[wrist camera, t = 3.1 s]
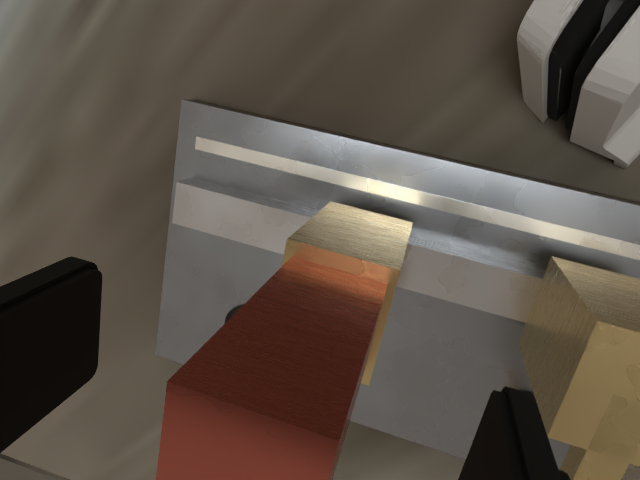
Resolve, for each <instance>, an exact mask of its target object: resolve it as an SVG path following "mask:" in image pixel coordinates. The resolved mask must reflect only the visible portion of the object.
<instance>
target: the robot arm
mask: <svg viewBox="0 0 640 480" xmlns="http://www.w3.org/2000/svg"><path fill="white" fill-rule="evenodd" d="M101 292H102V274H101V272H100V271H98V268H97V265H96V264H95V263H92V262H89V261H85V260H82V259H79V258H75V257H68V258H65V259H63V260H61V261H59V262H56V263H54V264H52V265H49V266H47V267H45V268H42V269H40V270H38V271H36V272H33V273H31V274H29V275H26V276H24V277H22V278H19V279H17V280H15V281H12V282H10V283H8V284H6V285H3V286H1V287H0V480H69V479H67V478H64V477H62V476H59V475H56V474H54V473H51V472H48V471H46V470H43V469H41V468H38V467H35V466H33V465H30V464H27V463H25V462H22V461H19V460H17V459H14V458H11V457H9V456H6V455H3V454H1V452H2V451H3V450H4V449H6V448H7V447H8V446H9V445H11V444H12V443H13V442H14V441H16V440H17V439H18V438H19V437H20V436H22V435H23V434H24V433H25V432H27V431H28V430H29V429H30V428H31V427H33V426H34V425H35V424H36V423H38V422H39V421H40V420H41V419H43V418H44V417H45V416H46V415H47V414H49V413H50V412H51V411H52V410H54V409H55V408H56V407H57V406H59V405H60V404H61V403H62V402H63V401H65V400H66V399H67V398H68V397H70V396H71V395H72V394H73V393H74V392H76V391H77V390H78V389H79V388H81V387H82V386H83V385H84V384H86V383H87V382H88V381H89V380H90V379H91V378H92V377H93V376H94V374H95V372H96V370H97V366H98V351H99V331H100V311H101ZM458 480H571V479H570V477H569V475H568V474H567V473H566V472H564V471H562V470H559V469H558V467H557V464H556V461H555V458H554V455H553V451H552V448H551V445H550V442H549V439H548V436H547V433H546V430H545V427H544V424H543V421H542V418H541V415H540V411H539V408H538V405H537V402H536V399H535V397H534V395H533V394H530V393H527V392H524V391H520V390H517V389H513V388H510V387H507V386H505V387H503V389H502V390H501V392H500V391H496V390H493V391H492V393H491V395H490V397H489V400H488V402H487V405H486V408H485V410H484V413H483V416H482V418H481V421H480V424H479V426H478V429H477V432H476V434H475V437H474V439H473V442H472V445H471V447H470V450H469V453H468V455H467V458H466V461H465V463H464V466H463V469H462V471H461V474H460V477H459V479H458Z"/></svg>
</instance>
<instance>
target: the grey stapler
mask: <svg viewBox="0 0 640 480" xmlns="http://www.w3.org/2000/svg"><path fill="white" fill-rule="evenodd" d="M517 46H518V55H519V64H520V74H521V83H522V92H523V101H524V102H525V104H526V105H527V106H528V107H529V109H530V110H531V111H532V112H533V113H534V114H535V115H536V116H537V117H538V118H539V120H540V121H541V122H542V123H543V122H544V121H545V120H546V119H547V117H548V116H549V117H550V118H552V119H553V120H555V121H557V120H558V118H559V117H560V116H561V115H562V114H563V113H564V111H565V110H566V109H567V108H568V107H569V111H568V117H567V123H566V128H567V129H568V130H570V131H571V132H572V133H571V137H570V142H573V143H575V144H577V145H580V146H582V147H584V148H586V149H589V150H591V151H593V152H596V153H598V154H600V155H602V156H605V157H607V158H609V159H612V160H614V165H616V166H619V167H621V168H623V169H626V168H627V167H628V166H629V165H630V164H631V163H632V162H633V161H634V160H635V159H636V158H637V157H638V156H639V155H640V0H534V1H533V3H532V5H531V6H530V8H529V9H528V11H527V13H526V15H525V17H524V19H523V21H522V23H521V25H520V28H519V31H518V34H517Z"/></svg>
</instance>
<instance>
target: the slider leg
mask: <svg viewBox="0 0 640 480" xmlns="http://www.w3.org/2000/svg"><path fill="white" fill-rule="evenodd" d="M412 224H413V222H409V221H406V220H402V219H398V218H394V217H390V216H386V215H382V214H378V213H374V212H371V211H367V210H363V209H359V208H355V207H351V206H347V205H343V204H339V203H336V202H332V201H330V202H329V203H328V204H327V205H326V206H325V207H324V208H322V209H321V210H320V211H319V212H318V213H317V214H315V215H314V216H313V217H312V218H311V219H310V220H308V221H307V222H306V223H305V224H304V225H303V226H301V227H300V228H299V229H298V230H297V231H296V232H294V233H293V234H292V235H291V236H290V237H289V238H288V239H287V241H286V246H285V252H284V257H283V262H282V267H281V268H280V269H279V270H278V271H277V272H276V273H275V274H274V275H273V276H272V277H271V278H270V279H269V280H268V281H267V282H266V283H265V284H264V285H263V286H262V287H261V288H260V289H259V290H258V291H257V292H256V293H255V294H254V295H253V296H252V297H251V298H250V299H249V300H248V301H247V302H246V303H245V304H244V305H243V306H242V307H241V308H240V309H239V310H238V311H237V312H236V313H235V314H234V315H233V316H232V317H231V318H230V319H229V320H228V321H227V322H226V323H225V324H224V325H223V326H222V327H221V328H220V329H219V330H218V331H217V332H216V333H215V334H214V335H213V336H212V337H211V338H210V339H209V340H208V341H207V342H206V343H205V344H204V345H203V346H202V347H201V348H200V349H199V350H198V351H197V352H196V353H195V354H194V355H193V356H192V357H191V358H190V359H189V360H188V361H187V362H186V363H185V364H184V365H183V366H182V367H181V368H180V369H179V370H178V371H177V372H176V373H175V374H174V375H173V376H172V377H171V378H170V379H169V380H168V381H167V389H166V397H165V406H164V415H163V424H162V432H161V441H160V450H159V459H158V467H157V476H156V480H332V479H333V476H334V472H335V469H336V466H337V462H338V459H339V455H340V452H341V449H342V445H343V442H344V439H345V435H346V432H347V428H348V425H349V422H350V418H351V415H352V411H353V408H354V405H355V401H356V398H357V395H358V391H359V388H360V384H361V383H362V384H365V385H368V386H369V384H370V380H371V376H372V373H373V369H374V365H375V362H376V358H377V354H378V351H379V347H380V343H381V340H382V336H383V333H384V329H385V325H386V322H387V318H388V314H389V311H390V307H391V303H392V300H393V296H394V292H395V289H396V285H397V282H398V278H399V274H400V271H401V267H402V263H403V259H404V255H405V251H406V247H407V244H408V240H409V236H410V232H411V228H412Z"/></svg>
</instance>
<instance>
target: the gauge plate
mask: <svg viewBox="0 0 640 480" xmlns="http://www.w3.org/2000/svg"><path fill="white" fill-rule="evenodd" d="M330 201H332V202H336V203H339V204H343V205H347V206H351V207H355V208H359V209H363V210H367V211H371V212H374V213H378V214H382V215H386V216H390V217H394V218H398V219H402V220H406V221H409V222H413V224H412V228H411V232H410V236H409V240H408V244H407V247H406V251H405V255H404V259H403V263H402V267H401V271H400V274H399V278H398V282H397V285H396V289H395V292H394V296H393V300H392V303H391V307H390V311H389V314H388V318H387V322H386V325H385V329H384V333H383V336H382V340H381V343H380V347H379V351H378V354H377V358H376V362H375V365H374V369H373V373H372V376H371V380H370V384H369V386H368V385H365V384H362V383H361V384H360V388H359V391H358V395H357V398H356V401H355V405H354V408H353V411H352V415H351V418H350V421H352V422H355V423H358V424H361V425H364V426H367V427H370V428H373V429H376V430H379V431H382V432H385V433H388V434H391V435H394V436H397V437H400V438H403V439H406V440H409V441H412V442H415V443H418V444H420V445H423V446H426V447H429V448H432V449H435V450H438V451H441V452H444V453H447V454H450V455H453V456H456V457H459V458H462V459H465V460H466V458H467V455H468V453H469V450H470V447H471V445H472V442H473V439H474V437H475V434H476V432H477V429H478V426H479V424H480V421H481V418H482V416H483V413H484V410H485V408H486V405H487V402H488V400H489V397H490V395H491V393H492V391H493V390H496V391H500V392H501V390H502V389H503V387H505V386H507V387H510V388H513V389H517V390H520V391H524V392H527V393H530V394H533V395H534V397H535V399H536V402H537V405H538V408H539V411H540V415H541V418H542V421H543V424H544V427H545V430H546V433H547V436H548V439H549V442H550V445H551V448H552V451H553V455H554V458H555V461H556V464H557V467H558V469H559V470H562V471H564V472H566V473H567V474H568V475H569V477H570V479H571V480H622V478H623V476H624V474H625V472H626V470H627V468H628V466H629V464H633V465H636V466H639V467H640V203H639V202H635V201H631V200H626V199H622V198H618V197H613V196H609V195H605V194H600V193H596V192H592V191H587V190H583V189H579V188H574V187H570V186H566V185H561V184H557V183H553V182H548V181H544V180H540V179H535V178H531V177H527V176H522V175H518V174H514V173H509V172H505V171H501V170H496V169H492V168H488V167H483V166H479V165H475V164H470V163H466V162H462V161H457V160H453V159H449V158H444V157H440V156H436V155H431V154H427V153H423V152H418V151H414V150H410V149H405V148H401V147H397V146H392V145H388V144H384V143H379V142H375V141H371V140H366V139H362V138H358V137H353V136H349V135H345V134H340V133H336V132H332V131H327V130H323V129H319V128H314V127H310V126H306V125H301V124H297V123H293V122H288V121H284V120H280V119H275V118H271V117H267V116H262V115H258V114H254V113H249V112H245V111H241V110H236V109H232V108H228V107H223V106H219V105H215V104H210V103H206V102H202V101H197V100H182V101H181V111H180V120H179V130H178V140H177V150H176V159H175V169H174V179H173V189H172V198H171V208H170V218H169V227H168V237H167V247H166V257H165V266H164V276H163V286H162V296H161V305H160V315H159V325H158V335H157V344H156V354H155V355H157V356H160V357H163V358H166V359H169V360H172V361H175V362H178V363H181V364H185V363H186V362H187V361H188V360H189V359H190V358H191V357H192V356H193V355H194V354H195V353H196V352H197V351H198V350H199V349H200V348H201V347H202V346H203V345H204V344H205V343H206V342H207V341H208V340H209V339H210V338H211V337H212V336H213V335H214V334H215V333H216V332H217V331H218V330H219V329H220V328H221V327H222V326H223V325H224V324H225V323H226V322H227V321H228V320H229V319H230V318H231V317H232V316H233V315H234V314H235V313H236V312H237V311H238V310H239V309H240V308H241V307H242V306H243V305H244V304H245V303H246V302H247V301H248V300H249V299H250V298H251V297H252V296H253V295H254V294H255V293H256V292H257V291H258V290H259V289H260V288H261V287H262V286H263V285H264V284H265V283H266V282H267V281H268V280H269V279H270V278H271V277H272V276H273V275H274V274H275V273H276V272H277V271H278V270H279V269H280V268H281V267H282V262H283V257H284V252H285V246H286V241H287V239H288V238H289V237H290V236H291V235H292V234H293V233H294V232H296V231H297V230H298V229H299V228H300V227H301V226H303V225H304V224H305V223H306V222H307V221H308V220H310V219H311V218H312V217H313V216H314V215H315V214H317V213H318V212H319V211H320V210H321V209H322V208H324V207H325V206H326V205H327V204H328V203H329V202H330Z"/></svg>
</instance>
